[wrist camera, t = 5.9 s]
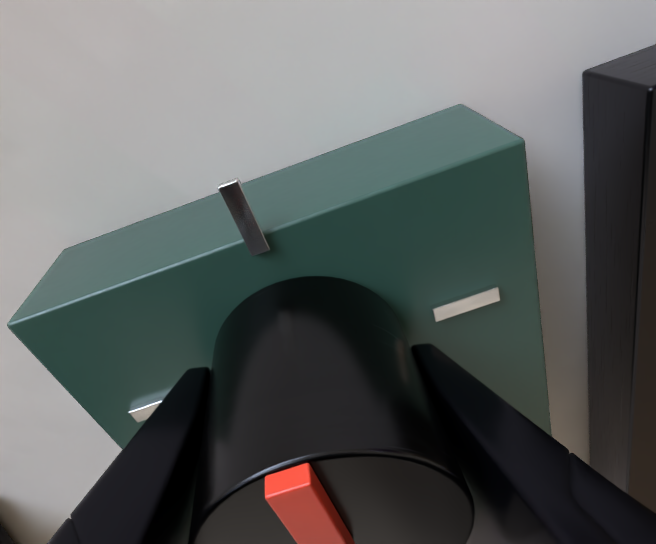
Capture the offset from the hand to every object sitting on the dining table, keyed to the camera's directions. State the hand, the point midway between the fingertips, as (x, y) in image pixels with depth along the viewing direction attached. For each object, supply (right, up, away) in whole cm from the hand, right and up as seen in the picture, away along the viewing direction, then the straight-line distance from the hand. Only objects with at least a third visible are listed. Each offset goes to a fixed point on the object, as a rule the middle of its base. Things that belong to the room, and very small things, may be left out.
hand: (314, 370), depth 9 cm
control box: (0, -1, +5) cm, 5 cm away
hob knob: (0, 0, 0) cm, 0 cm away
